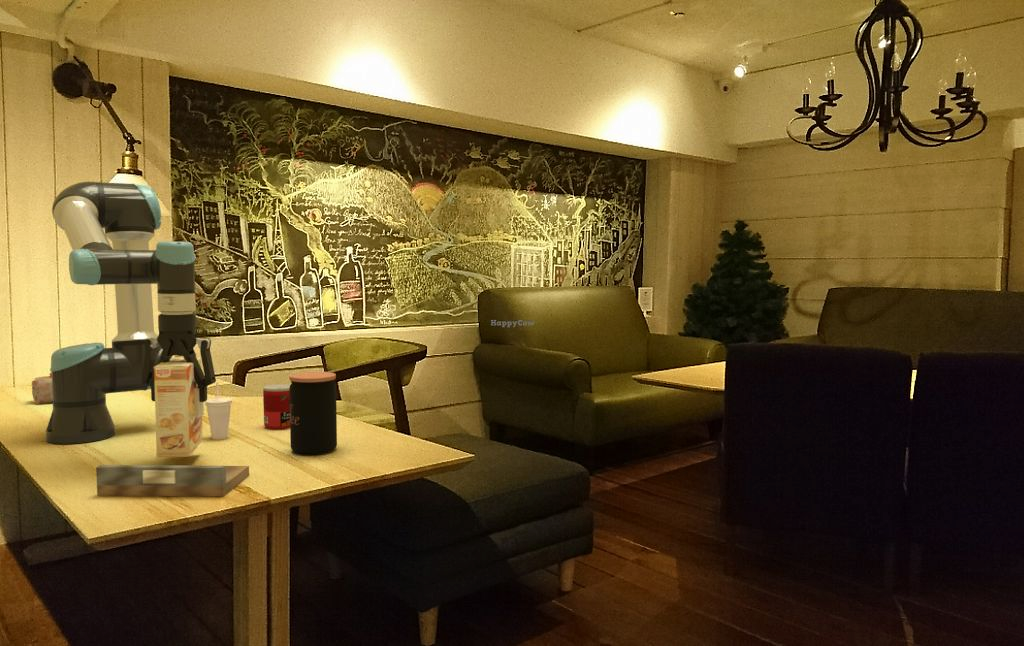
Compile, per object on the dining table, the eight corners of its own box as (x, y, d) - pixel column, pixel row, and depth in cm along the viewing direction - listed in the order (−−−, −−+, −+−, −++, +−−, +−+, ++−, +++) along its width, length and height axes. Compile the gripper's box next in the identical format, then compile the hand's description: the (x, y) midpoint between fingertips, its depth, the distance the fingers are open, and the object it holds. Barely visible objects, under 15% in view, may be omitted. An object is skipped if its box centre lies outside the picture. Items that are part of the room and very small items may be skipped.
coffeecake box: (191, 456, 160) (188, 365, 158) (154, 458, 158) (151, 366, 156) (204, 439, 174) (202, 356, 172) (171, 440, 173) (168, 356, 171)
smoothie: (226, 433, 195) (225, 380, 193) (237, 438, 190) (236, 383, 189) (201, 437, 190) (200, 382, 189) (212, 442, 185) (210, 386, 184)
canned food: (285, 430, 198) (285, 389, 198) (258, 429, 200) (257, 388, 199) (299, 424, 206) (299, 384, 205) (273, 423, 207) (272, 383, 207)
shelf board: (96, 496, 143) (94, 467, 142) (134, 474, 157) (133, 448, 157) (222, 496, 143) (221, 468, 142) (249, 475, 157) (248, 449, 157)
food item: (32, 406, 231) (31, 374, 230) (32, 402, 237) (30, 371, 237) (84, 401, 238) (82, 370, 237) (82, 397, 245) (80, 367, 244)
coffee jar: (295, 445, 183) (294, 371, 181) (340, 444, 184) (339, 371, 182) (286, 456, 172) (284, 378, 171) (333, 455, 173) (332, 378, 172)
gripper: (120, 313, 160) (124, 419, 162) (218, 314, 160) (220, 420, 162) (137, 310, 167) (141, 411, 169) (231, 312, 167) (233, 413, 169)
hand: (179, 416), depth 166 cm, fingers closed on coffeecake box, 8 cm apart
